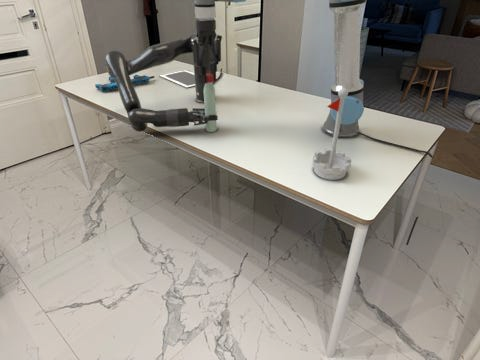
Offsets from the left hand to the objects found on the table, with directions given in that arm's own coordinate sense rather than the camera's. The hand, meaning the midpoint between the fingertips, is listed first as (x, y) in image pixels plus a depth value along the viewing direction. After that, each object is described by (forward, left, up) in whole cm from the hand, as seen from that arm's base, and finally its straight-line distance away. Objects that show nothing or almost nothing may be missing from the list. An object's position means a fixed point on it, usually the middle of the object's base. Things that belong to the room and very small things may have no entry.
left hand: (216, 115), depth 148 cm
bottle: (0, -3, -7) cm, 7 cm away
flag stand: (+42, +36, -7) cm, 56 cm away
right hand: (0, -3, +15) cm, 15 cm away
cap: (0, -3, +17) cm, 18 cm away
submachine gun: (-76, -49, -7) cm, 90 cm away
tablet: (-79, -12, -7) cm, 80 cm away
